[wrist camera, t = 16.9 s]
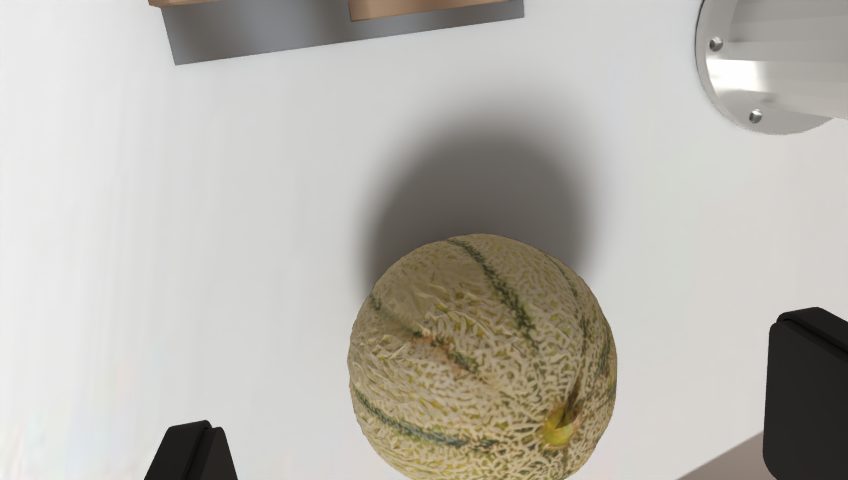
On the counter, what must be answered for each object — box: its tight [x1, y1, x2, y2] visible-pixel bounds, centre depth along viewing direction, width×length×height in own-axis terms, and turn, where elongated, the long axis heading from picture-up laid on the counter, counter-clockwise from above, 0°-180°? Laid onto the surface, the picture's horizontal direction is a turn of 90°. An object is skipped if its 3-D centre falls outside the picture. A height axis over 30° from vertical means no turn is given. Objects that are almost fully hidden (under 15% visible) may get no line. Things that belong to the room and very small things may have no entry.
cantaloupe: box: [347, 233, 617, 480], centre depth 33 cm, size 15×15×15 cm
